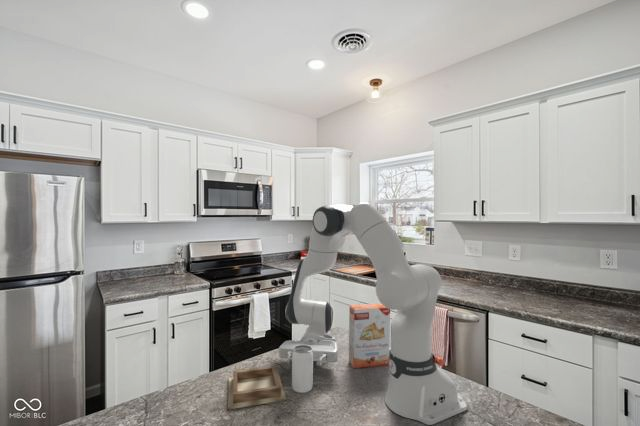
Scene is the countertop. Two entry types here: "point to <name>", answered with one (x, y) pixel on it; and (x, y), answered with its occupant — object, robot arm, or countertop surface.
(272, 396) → the wooden serving tray
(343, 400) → the countertop surface
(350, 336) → the cracker box
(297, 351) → the can
